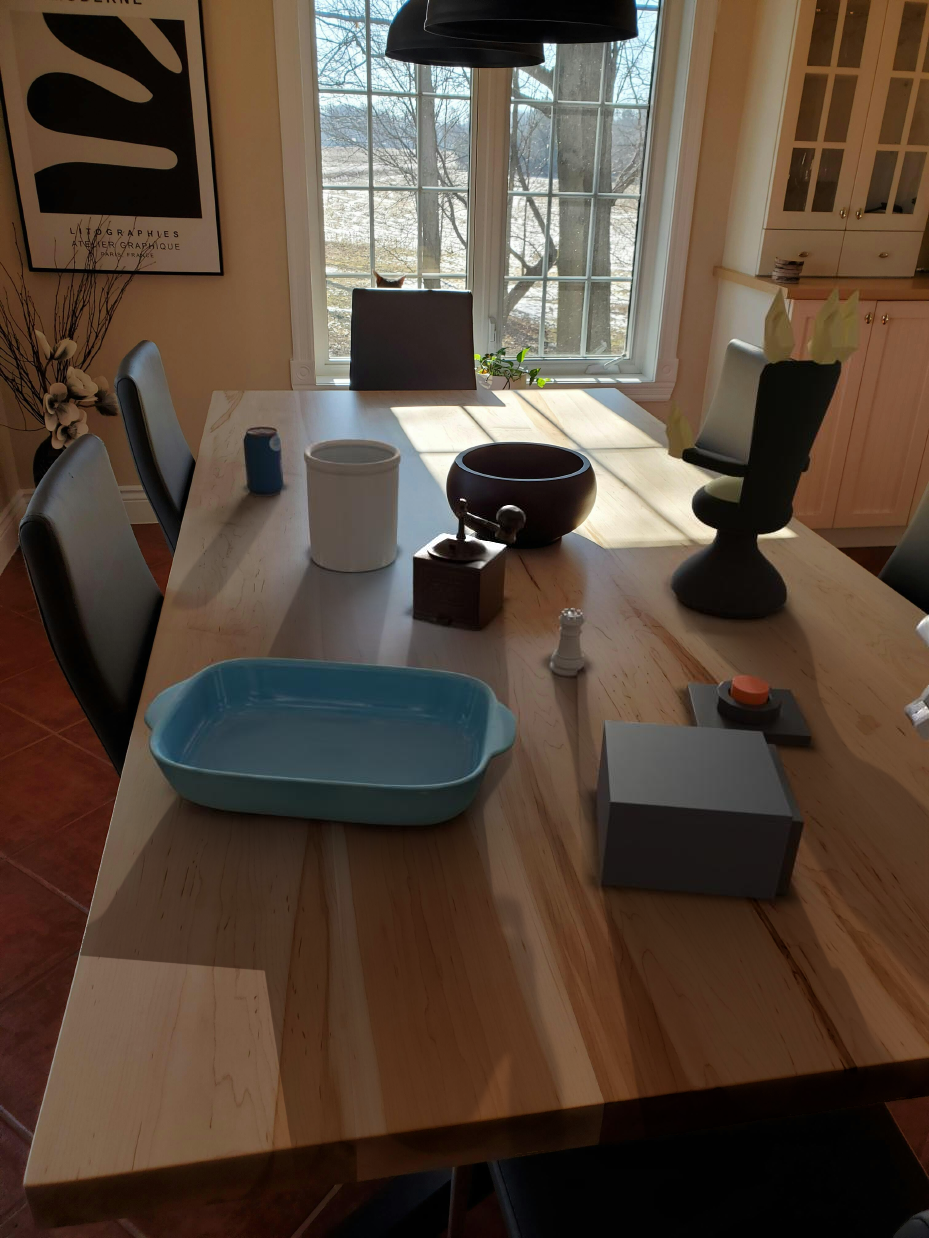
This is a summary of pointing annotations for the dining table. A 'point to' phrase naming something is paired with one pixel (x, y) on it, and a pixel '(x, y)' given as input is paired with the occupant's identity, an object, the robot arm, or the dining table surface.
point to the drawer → (795, 826)
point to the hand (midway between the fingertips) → (913, 725)
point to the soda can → (263, 461)
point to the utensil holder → (353, 503)
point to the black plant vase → (762, 465)
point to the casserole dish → (329, 739)
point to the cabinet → (690, 810)
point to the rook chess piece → (569, 645)
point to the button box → (749, 713)
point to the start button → (750, 690)
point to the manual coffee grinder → (464, 573)
